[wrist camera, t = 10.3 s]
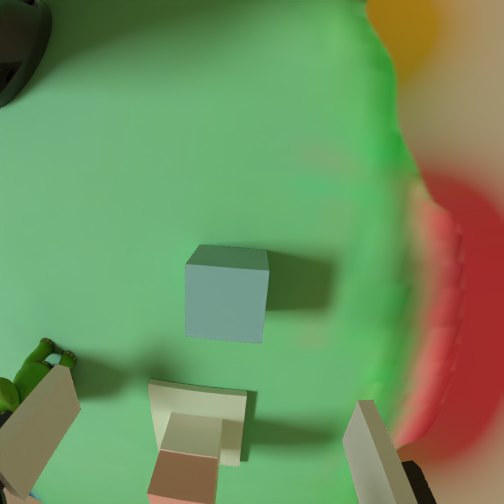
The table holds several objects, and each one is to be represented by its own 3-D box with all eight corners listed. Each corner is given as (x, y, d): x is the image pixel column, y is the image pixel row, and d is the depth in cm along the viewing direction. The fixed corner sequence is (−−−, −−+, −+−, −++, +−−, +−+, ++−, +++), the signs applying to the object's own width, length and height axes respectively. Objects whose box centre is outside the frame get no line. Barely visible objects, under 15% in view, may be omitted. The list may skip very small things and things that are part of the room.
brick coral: (160, 449, 26) (147, 493, 20) (217, 458, 26) (212, 504, 20) (165, 477, 28) (155, 517, 22) (217, 485, 28) (212, 526, 22)
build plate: (150, 378, 32) (131, 419, 25) (246, 390, 32) (245, 436, 25) (161, 451, 35) (149, 488, 28) (239, 461, 35) (237, 500, 29)
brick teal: (199, 244, 28) (185, 264, 22) (266, 249, 28) (269, 270, 22) (197, 305, 29) (185, 336, 23) (260, 310, 29) (261, 343, 24)
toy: (81, 339, 31) (10, 421, 16) (74, 410, 34) (28, 483, 20) (41, 316, 30) (-36, 383, 16) (40, 390, 33) (-11, 455, 19)
